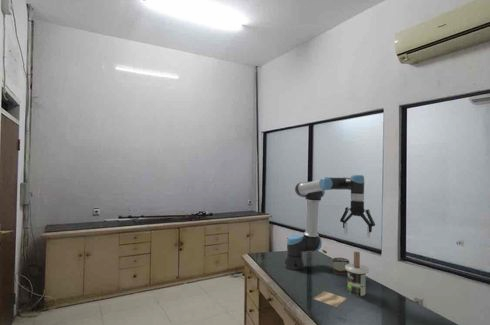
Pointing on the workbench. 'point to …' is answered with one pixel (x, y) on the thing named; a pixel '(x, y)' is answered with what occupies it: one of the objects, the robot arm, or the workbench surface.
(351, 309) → the workbench surface
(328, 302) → the mat
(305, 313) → the workbench surface
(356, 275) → the coffee can
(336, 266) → the food container
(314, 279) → the workbench surface
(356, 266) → the lid
